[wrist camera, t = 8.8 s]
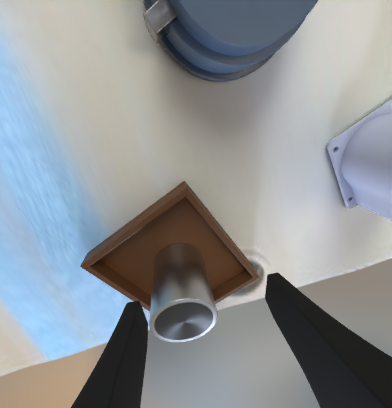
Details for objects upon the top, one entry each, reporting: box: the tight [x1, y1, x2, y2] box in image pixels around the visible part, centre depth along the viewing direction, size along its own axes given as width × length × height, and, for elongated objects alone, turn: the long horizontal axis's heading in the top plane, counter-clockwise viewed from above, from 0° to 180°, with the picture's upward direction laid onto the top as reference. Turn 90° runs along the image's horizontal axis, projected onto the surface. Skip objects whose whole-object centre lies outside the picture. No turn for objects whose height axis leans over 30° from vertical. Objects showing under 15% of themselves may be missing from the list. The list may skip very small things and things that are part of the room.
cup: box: [149, 243, 218, 342], centre depth 19 cm, size 6×6×7 cm
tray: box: [80, 181, 259, 311], centre depth 21 cm, size 15×13×2 cm
